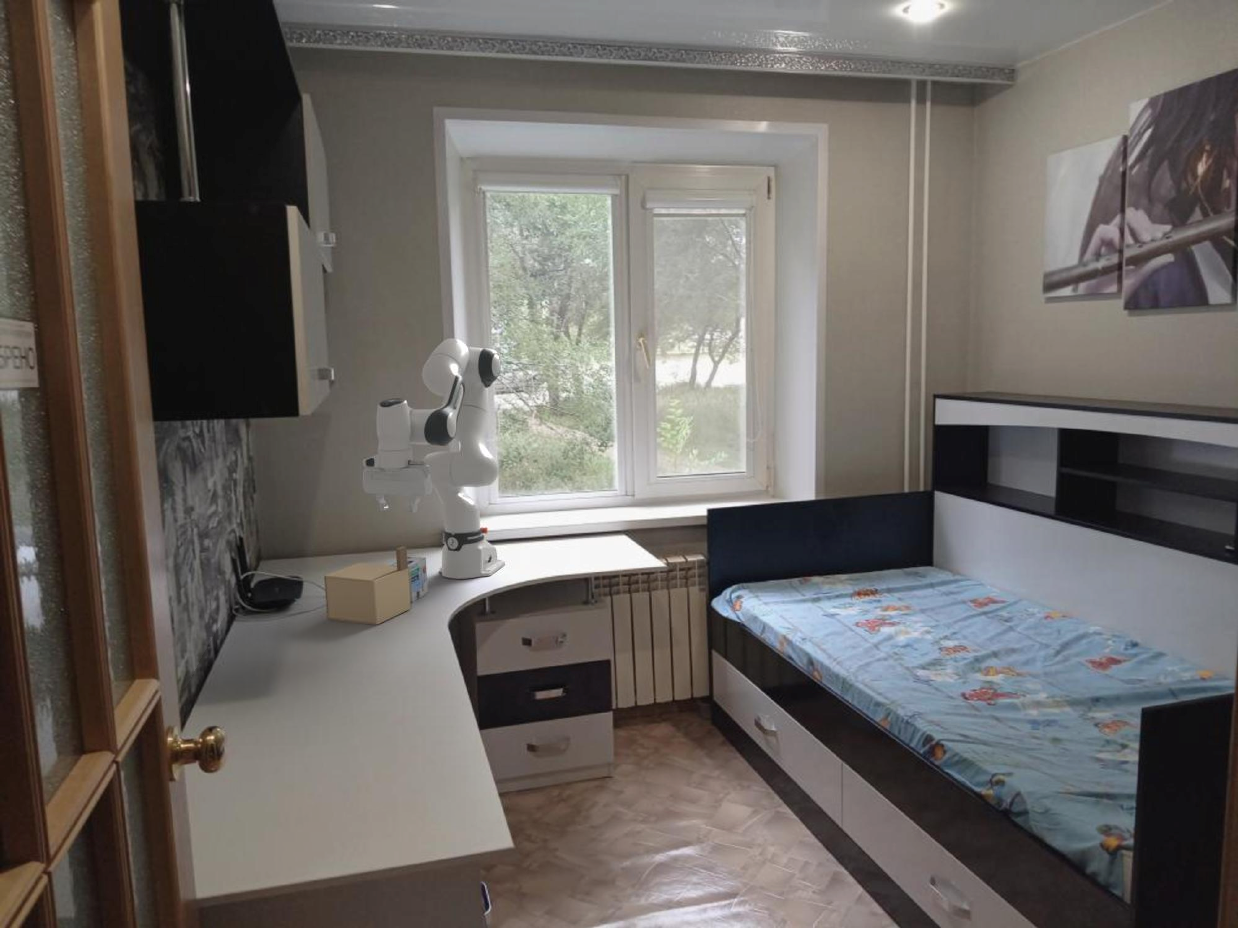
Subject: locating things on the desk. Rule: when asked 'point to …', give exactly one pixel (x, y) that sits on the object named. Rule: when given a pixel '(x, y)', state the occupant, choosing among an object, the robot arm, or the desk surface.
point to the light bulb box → (416, 577)
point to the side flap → (392, 590)
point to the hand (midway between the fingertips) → (398, 511)
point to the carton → (354, 592)
